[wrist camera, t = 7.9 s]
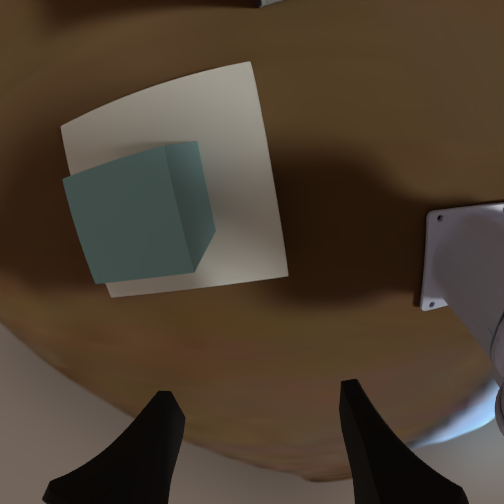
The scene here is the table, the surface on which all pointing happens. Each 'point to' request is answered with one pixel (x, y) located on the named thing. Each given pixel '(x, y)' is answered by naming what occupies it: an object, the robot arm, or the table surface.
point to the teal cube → (143, 214)
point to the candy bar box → (266, 2)
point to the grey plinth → (213, 162)
